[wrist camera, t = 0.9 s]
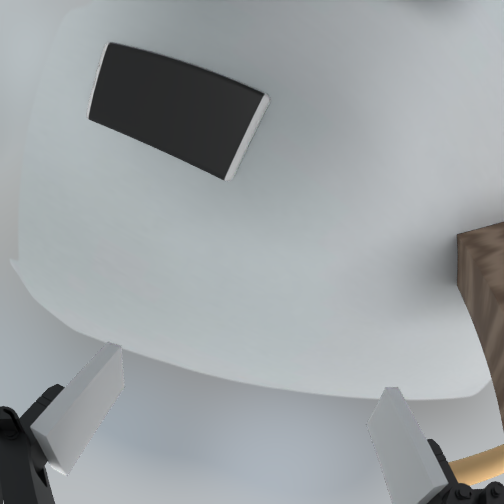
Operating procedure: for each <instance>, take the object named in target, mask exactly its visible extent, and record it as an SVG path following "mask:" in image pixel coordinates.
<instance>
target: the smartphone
mask: <svg viewBox="0 0 504 504" xmlns="http://www.w3.org/2000/svg"><path fill="white" fill-rule="evenodd" d="M269 104H270V97H269V95H268V94H266V93H264V92H262V91H260V90H257V89H255V88H253V87H251V86H248V85H246V84H244V83H241V82H239V81H236V80H234V79H231V78H229V77H226V76H224V75H221V74H219V73H216V72H213V71H211V70H208V69H205V68H202V67H199V66H196V65H193V64H191V63H188V62H184V61H181V60H178V59H175V58H172V57H168V56H165V55H162V54H158V53H154V52H151V51H147V50H143V49H139V48H135V47H131V46H127V45H122V44H117V43H112V42H109V43H107V44H106V45H105V46H104V49H103V52H102V55H101V58H100V61H99V65H98V68H97V72H96V75H95V79H94V83H93V87H92V91H91V95H90V99H89V103H88V108H87V113H86V116H87V118H88V119H89V120H92V121H94V122H96V123H99V124H101V125H104V126H106V127H108V128H111V129H113V130H116V131H118V132H120V133H123V134H125V135H127V136H130V137H132V138H134V139H136V140H139V141H141V142H143V143H146V144H148V145H150V146H152V147H154V148H157V149H159V150H161V151H163V152H165V153H168V154H170V155H172V156H174V157H176V158H178V159H181V160H183V161H185V162H187V163H189V164H191V165H193V166H195V167H198V168H200V169H202V170H204V171H206V172H208V173H210V174H212V175H214V176H216V177H218V178H220V179H222V180H224V181H231V180H232V179H233V178H234V176H235V174H236V172H237V170H238V167H239V165H240V163H241V161H242V159H243V157H244V155H245V153H246V151H247V148H248V146H249V143H250V141H251V139H252V137H253V136H254V134H255V132H256V130H257V128H258V126H259V124H260V122H261V120H262V116H263V115H264V114H265V112H266V110H267V108H268V106H269Z"/></svg>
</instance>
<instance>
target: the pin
mask: <svg viewBox="0 0 504 504" xmlns="http://www.w3.org/2000/svg"><path fill="white" fill-rule="evenodd" d="M449 465H450V467H451V469H452V471H453V473H454V475H455V477H456V479H457V481H458V483H465V484H467V485H469V486H470V485H473V484H476V483H479V482H482V481H485V480H488V479H490V478H493V477H495V476H498V475H501V474H503V473H504V444H503V445H500V446H498V447H496V448H493V449H490V450H488V451H484V452H481V453H479V454H476V455H473V456H469V457H466V458H463V459H460V460H456V461H452V462H449Z"/></svg>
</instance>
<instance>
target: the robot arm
mask: <svg viewBox="0 0 504 504" xmlns="http://www.w3.org/2000/svg"><path fill="white" fill-rule="evenodd" d="M124 388H125V385H124V375H123V363H122V349H121V346H120V345H117V344H113V343H110V342H107V343H106V344H105V345H104V346H103V348H102V349H101V350H100V351H99V352H98V353H97V354H96V355H95V356H94V357H93V358H92V359H91V360H90V361H89V362H88V363H87V364H86V365H85V366H84V368H83V369H82V370H81V371H80V372H79V373H78V374H77V375H76V376H75V377H74V378H73V379H72V380H71V381H70V383H69V384H68V385H67V386H66V387H63V386H61V385H59V384H56V385H54V386H52V387H50V388H48V389H47V390H46V391H45V392H44V393H43V394H42V396H41V397H39V398H38V399H37V400H36V402H34V403H33V405H32V406H31V407H30V408H29V409H28V410H27V411H26V412H25V413H24V414H23V415H22V416H21V417H20V418H19V417H18V415H17V413H16V412H15V411H14V410H13V409H11V408H9V407H5V406H2V407H0V504H3V500H4V504H55V502H54V498H53V495H52V491H51V488H50V484H49V480H48V476H47V472H46V468H45V464H46V463H47V461H48V462H49V464H50V465H51V467H52V468H53V469H55V470H56V471H58V472H60V473H62V474H63V475H65V476H68V474H69V473H70V471H71V470H72V468H73V466H74V465H75V463H76V462H77V460H78V458H79V457H80V455H81V454H82V452H83V451H84V449H85V447H86V446H87V444H88V443H89V441H90V440H91V438H92V437H93V435H94V433H95V432H96V430H97V429H98V427H99V426H100V424H101V423H102V421H103V420H104V418H105V417H106V415H107V414H108V412H109V410H110V409H111V407H112V406H113V404H114V403H115V401H116V400H117V398H118V397H119V395H120V394H121V392H122V391H123V390H124ZM366 425H367V428H368V431H369V434H370V437H371V440H372V443H373V446H374V448H375V451H376V454H377V457H378V460H379V463H380V466H381V469H382V473H383V475H384V479H385V482H386V485H387V488H388V491H389V495H390V498H391V501H392V504H504V486H503V484H501V483H500V482H496V481H495V482H491V483H490V484H488V485H487V486H486V487H485V488H484V489H471V487H470V486H469V485H467V484H465V483H458V481H457V479H456V477H455V475H454V473H453V471H452V469H451V467H450V465H449V463H448V462H447V461H446V458H445V456H444V455H443V452H442V450H441V448H440V446H439V445H438V444H437V443H436V442H435V441H434V440H433V439H428V440H427V439H426V437H425V436H424V434H423V432H422V430H421V428H420V426H419V424H418V422H417V420H416V419H415V417H414V415H413V413H412V411H411V410H410V408H409V406H408V404H407V402H406V400H405V399H404V397H403V395H402V393H401V392H400V390H399V388H398V387H386V388H385V390H384V392H383V394H382V396H381V398H380V400H379V402H378V404H377V406H376V408H375V409H374V411H373V413H372V415H371V417H370V419H369V420H368V422H367V424H366Z"/></svg>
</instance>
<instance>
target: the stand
mask: <svg viewBox="0 0 504 504" xmlns="http://www.w3.org/2000/svg"><path fill="white" fill-rule="evenodd" d="M457 244H458V272H457V286H458V288H459V291H460V293H461V295H462V297H463V300H464V302H465V304H466V307H467V309H468V311H469V314H470V316H471V319H472V321H473V324H474V326H475V329H476V332H477V334H478V337H479V340H480V343H481V346H482V349H483V352H484V355H485V358H486V361H487V364H488V367H489V371H490V374H491V378H492V381H493V385H494V389H495V392H496V397H497V401H498V405H499V410H500V414H501V420H502V425H503V430H504V222H502V223H498V224H494V225H491V226H487V227H484V228H480V229H476V230H472V231H469V232H465V233H461V234H457Z"/></svg>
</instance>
